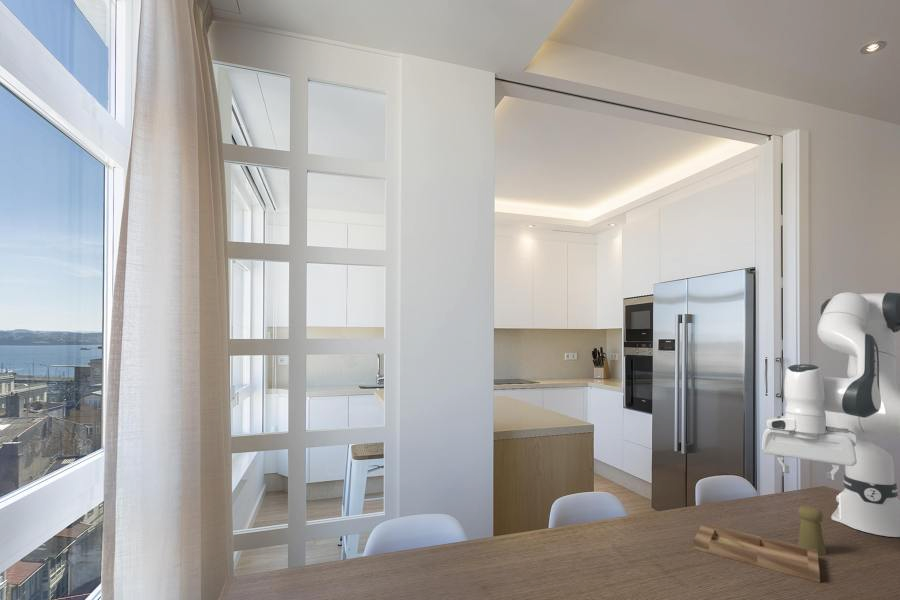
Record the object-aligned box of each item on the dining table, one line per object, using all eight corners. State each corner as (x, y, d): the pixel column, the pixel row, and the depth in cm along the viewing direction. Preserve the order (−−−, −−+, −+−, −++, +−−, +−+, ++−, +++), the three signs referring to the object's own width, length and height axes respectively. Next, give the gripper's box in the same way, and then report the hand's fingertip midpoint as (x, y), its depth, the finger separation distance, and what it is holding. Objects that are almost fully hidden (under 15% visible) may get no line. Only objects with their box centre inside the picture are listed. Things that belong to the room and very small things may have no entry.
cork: (831, 556, 117) (829, 512, 118) (805, 553, 118) (803, 510, 119) (817, 546, 123) (816, 504, 124) (792, 543, 124) (791, 502, 125)
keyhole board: (702, 531, 131) (702, 522, 131) (817, 559, 115) (817, 549, 115) (694, 548, 120) (693, 539, 120) (820, 582, 104) (819, 571, 104)
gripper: (855, 427, 119) (857, 481, 118) (761, 418, 132) (763, 466, 131) (857, 431, 114) (860, 487, 113) (760, 421, 127) (762, 471, 126)
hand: (807, 476), depth 122 cm, fingers open, 8 cm apart
